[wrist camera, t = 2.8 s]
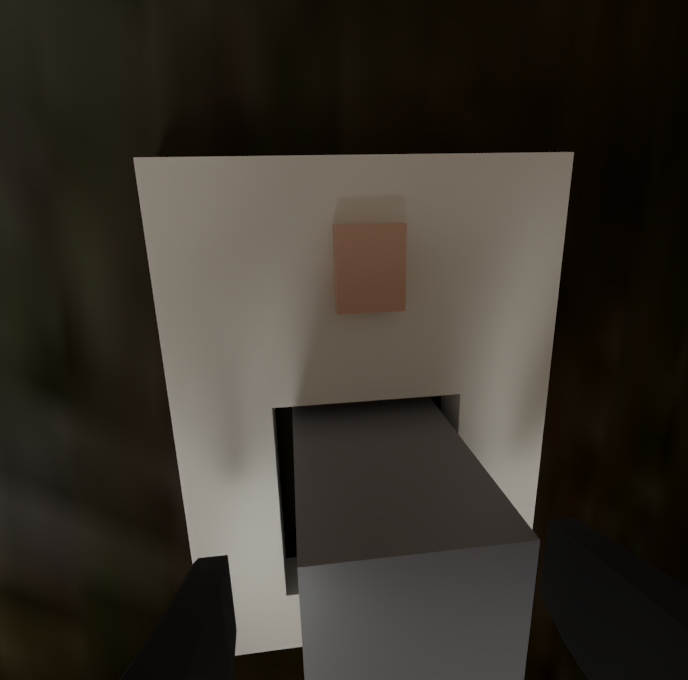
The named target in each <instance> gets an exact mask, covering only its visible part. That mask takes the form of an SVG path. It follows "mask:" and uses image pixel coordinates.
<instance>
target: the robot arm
mask: <svg viewBox="0 0 688 680" xmlns="http://www.w3.org/2000/svg"><path fill="white" fill-rule="evenodd" d="M539 592H540V594H541V596H542V598H543V601H544V603H545V605H546V607H547V609H548V611H549V613H550V615H551V617H552V619H553V621H554V623H555V625H556V627H557V629H558V631H559V633H560V635H561V637H562V639H563V641H564V642H565V644H566V645H567V647H568V649H569V650H570V652H571V654H572V655H573V657H574V658H575V660H576V661H577V663H578V665H579V666H580V668H581V669H582V671H583V673H584V674H585V676H586V677H587V679H588V680H688V587H687V586H685V585H683V584H682V583H680V582H678V581H677V580H675V579H673V578H672V577H670V576H668V575H667V574H665V573H663V572H662V571H660V570H659V569H657V568H655V567H654V566H652V565H650V564H649V563H647V562H646V561H644V560H642V559H641V558H639V557H638V556H636V555H634V554H633V553H631V552H630V551H628V550H626V549H625V548H623V547H621V546H620V545H618V544H617V543H615V542H613V541H612V540H610V539H609V538H607V537H605V536H604V535H602V534H601V533H599V532H597V531H596V530H594V529H592V528H591V527H589V526H587V525H586V524H584V523H582V522H580V521H579V520H577V519H575V518H565V519H556V520H548V527H547V535H546V543H545V551H544V559H543V567H542V575H541V583H540V591H539ZM236 633H237V629H236V620H235V612H234V604H233V595H232V587H231V578H230V570H229V562H228V555H222V556H213V557H204V558H198V559H197V560H196V561H195V562H194V563H193V565H192V567H191V568H190V570H189V572H188V574H187V575H186V577H185V579H184V581H183V582H182V584H181V586H180V587H179V589H178V591H177V592H176V594H175V596H174V597H173V599H172V601H171V602H170V604H169V606H168V607H167V609H166V610H165V612H164V614H163V615H162V617H161V618H160V620H159V621H158V623H157V624H156V626H155V627H154V629H153V631H152V632H151V634H150V635H149V637H148V638H147V640H146V641H145V643H144V644H143V646H142V647H141V649H140V650H139V652H138V653H137V655H136V656H135V658H134V659H133V661H132V662H131V663H130V665H129V666H128V668H127V669H126V670H125V672H124V673H123V674H122V676H121V677H120V679H119V680H233V674H234V662H235V647H236Z"/></svg>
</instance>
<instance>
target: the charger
mask: <svg viewBox="0 0 688 680" xmlns="http://www.w3.org/2000/svg"><path fill="white" fill-rule="evenodd" d="M292 415H293V447H294V479H295V511H296V543H297V571H298V586H299V601H300V617H301V632H302V647H303V662H304V678H305V680H524V674H525V665H526V657H527V648H528V640H529V631H530V622H531V614H532V605H533V597H534V588H535V580H536V571H537V562H538V554H539V545H540V539H539V538H538V537H537V535H536V534H535V533H534V532H533V530H532V529H531V528H530V526H529V525H528V524H527V522H526V521H525V520H524V519H523V517H522V516H521V515H520V513H519V512H518V511H517V509H516V508H515V507H514V506H513V504H512V503H511V502H510V500H509V499H508V498H507V497H506V495H505V494H504V493H503V491H502V490H501V489H500V487H499V486H498V485H497V484H496V482H495V481H494V480H493V478H492V477H491V476H490V475H489V473H488V472H487V471H486V469H485V468H484V467H483V465H482V464H481V463H480V462H479V460H478V459H477V458H476V456H475V455H474V454H473V452H472V451H471V450H470V449H469V447H468V446H467V445H466V443H465V442H464V441H463V440H462V438H461V437H460V436H459V434H458V433H457V432H456V430H455V429H454V428H453V427H452V425H451V424H450V423H449V421H448V420H447V419H446V417H445V416H444V415H443V414H442V412H441V411H440V410H439V408H438V407H437V406H436V405H435V403H434V402H433V401H432V399H431V398H430V397H429V396H427V397H414V398H401V399H387V400H374V401H361V402H347V403H334V404H321V405H307V406H294V407H292Z"/></svg>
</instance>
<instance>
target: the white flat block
mask: <svg viewBox="0 0 688 680" xmlns="http://www.w3.org/2000/svg"><path fill="white" fill-rule="evenodd" d="M573 157H574V152H532V153H452V154H372V155H291V156H211V157H133V160H134V167H135V174H136V180H137V187H138V194H139V201H140V208H141V215H142V222H143V228H144V235H145V242H146V249H147V256H148V263H149V270H150V276H151V283H152V290H153V297H154V304H155V311H156V318H157V324H158V331H159V338H160V345H161V352H162V359H163V366H164V372H165V379H166V386H167V393H168V400H169V407H170V414H171V420H172V427H173V434H174V441H175V448H176V455H177V461H178V468H179V475H180V482H181V489H182V496H183V503H184V509H185V516H186V523H187V530H188V537H189V544H190V551H191V557H192V564H193V563H194V562H195V561H196V560H197V559H198V558H204V557H213V556H222V555H228V562H229V570H230V578H231V587H232V595H233V604H234V612H235V620H236V629H237V633H236V647H235V656H236V655H243V654H251V653H258V652H266V651H273V650H281V649H288V648H295V647H302V632H301V617H300V601H299V586H298V571H297V557H291V558H286V548H285V534H284V521H283V507H282V494H281V480H280V467H279V453H278V440H277V426H276V413H275V408H280V407H294V406H307V405H321V404H334V403H347V402H361V401H374V400H387V399H401V398H414V397H427V396H441V408H440V411H441V412H442V414H443V415H444V416H445V417H446V419H447V420H448V421H449V423H450V424H451V425H452V427H453V428H454V429H455V430H456V432H457V433H458V434H459V436H460V437H461V438H462V440H463V441H464V442H465V443H466V445H467V446H468V447H469V449H470V450H471V451H472V452H473V454H474V455H475V456H476V458H477V459H478V460H479V462H480V463H481V464H482V465H483V467H484V468H485V469H486V471H487V472H488V473H489V475H490V476H491V477H492V478H493V480H494V481H495V482H496V484H497V485H498V486H499V487H500V489H501V490H502V491H503V493H504V494H505V495H506V497H507V498H508V499H509V500H510V502H511V503H512V504H513V506H514V507H515V508H516V509H517V511H518V512H519V513H520V515H521V516H522V517H523V519H524V520H525V521H526V522H527V524H528V525H529V526H530V528H531V529H533V520H534V511H535V502H536V493H537V484H538V474H539V465H540V456H541V447H542V438H543V429H544V420H545V411H546V402H547V393H548V384H549V375H550V365H551V356H552V347H553V338H554V329H555V320H556V311H557V302H558V293H559V284H560V275H561V266H562V256H563V247H564V238H565V229H566V220H567V211H568V202H569V193H570V184H571V175H572V166H573Z"/></svg>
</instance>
